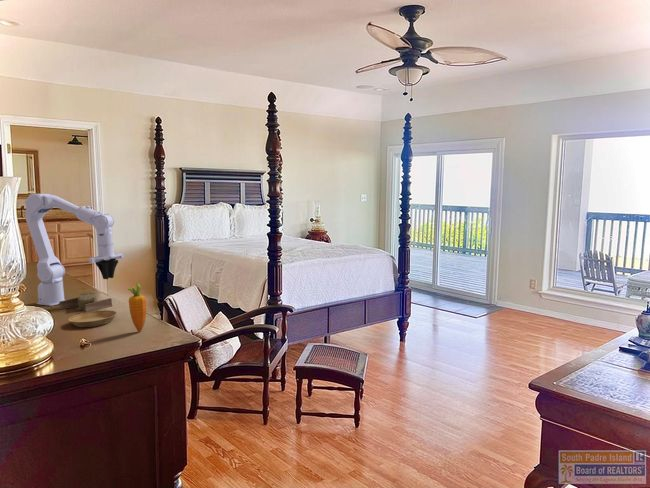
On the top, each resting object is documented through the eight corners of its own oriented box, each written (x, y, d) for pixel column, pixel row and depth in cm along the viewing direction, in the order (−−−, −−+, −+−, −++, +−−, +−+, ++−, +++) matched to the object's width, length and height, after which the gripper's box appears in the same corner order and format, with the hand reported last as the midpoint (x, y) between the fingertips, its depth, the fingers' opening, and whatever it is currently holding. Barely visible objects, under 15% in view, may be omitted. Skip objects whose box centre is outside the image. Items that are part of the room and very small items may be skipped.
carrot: (137, 334, 144) (134, 286, 142) (127, 332, 147) (123, 285, 145) (151, 330, 148) (148, 283, 146) (141, 328, 151) (137, 282, 149)
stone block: (78, 312, 176) (77, 298, 176) (80, 305, 187) (79, 293, 186) (95, 310, 178) (94, 297, 178) (97, 304, 189) (96, 291, 188)
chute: (60, 309, 180) (59, 301, 180) (86, 302, 190) (85, 295, 190) (86, 312, 174) (85, 304, 173) (112, 306, 183) (111, 298, 183)
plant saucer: (70, 332, 150) (69, 324, 150) (67, 322, 162) (66, 314, 162) (120, 324, 158) (120, 316, 157) (113, 315, 170) (113, 308, 170)
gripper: (96, 247, 181) (99, 282, 182) (127, 242, 193) (130, 275, 195) (84, 246, 184) (87, 281, 185) (115, 242, 197) (118, 274, 198)
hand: (108, 278), depth 190 cm, fingers closed
